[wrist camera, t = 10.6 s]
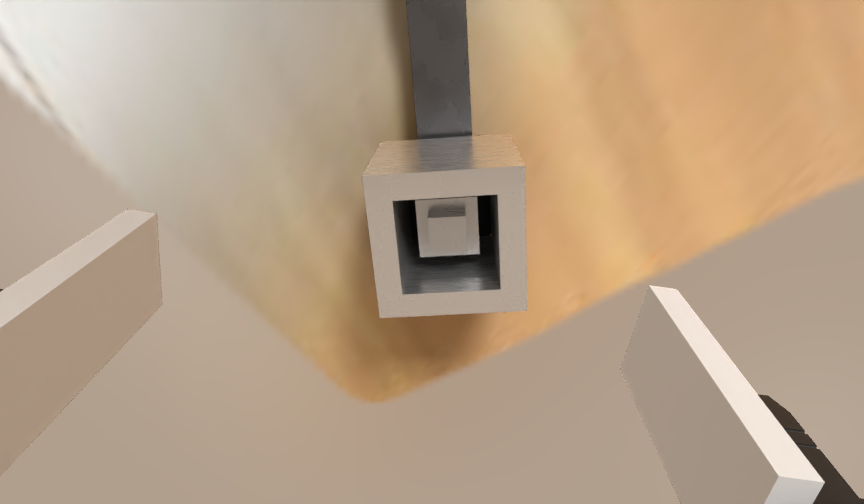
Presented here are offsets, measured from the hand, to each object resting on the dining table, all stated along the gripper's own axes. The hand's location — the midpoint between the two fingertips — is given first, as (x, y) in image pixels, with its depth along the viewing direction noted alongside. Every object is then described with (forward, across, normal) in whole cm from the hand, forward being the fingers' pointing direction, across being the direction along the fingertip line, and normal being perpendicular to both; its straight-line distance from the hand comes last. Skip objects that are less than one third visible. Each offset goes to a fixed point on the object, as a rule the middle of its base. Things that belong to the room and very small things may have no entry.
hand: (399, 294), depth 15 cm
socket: (+17, +2, -3) cm, 17 cm away
